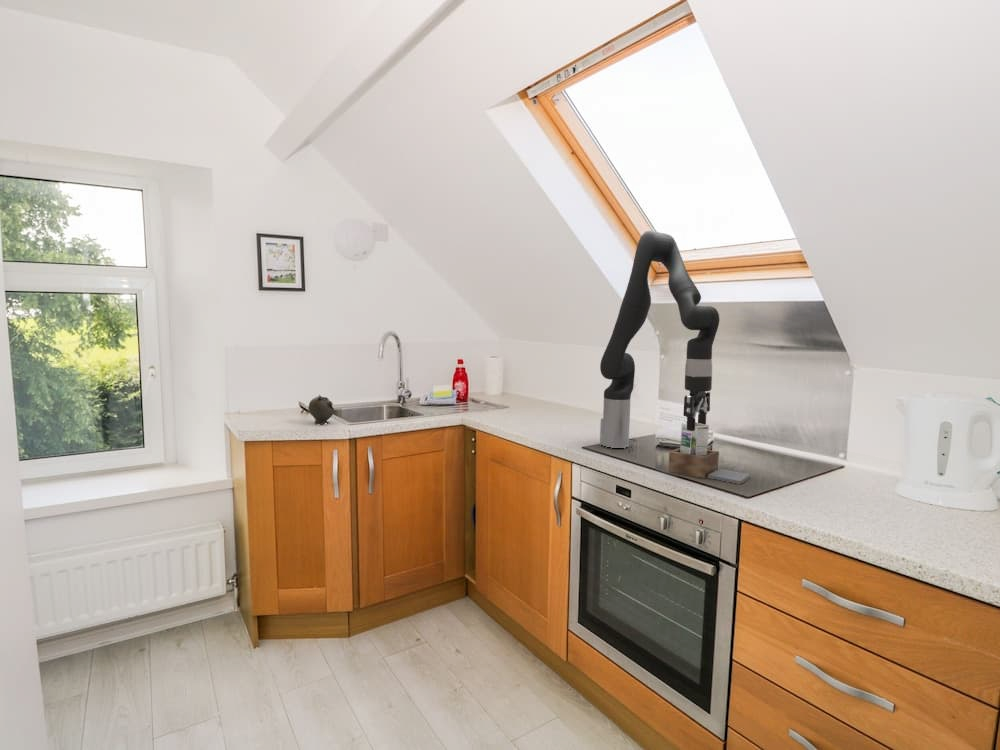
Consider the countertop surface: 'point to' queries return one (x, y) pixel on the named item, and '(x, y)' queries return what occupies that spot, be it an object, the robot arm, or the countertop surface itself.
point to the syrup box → (694, 439)
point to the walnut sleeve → (693, 463)
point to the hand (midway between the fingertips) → (696, 428)
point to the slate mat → (729, 476)
